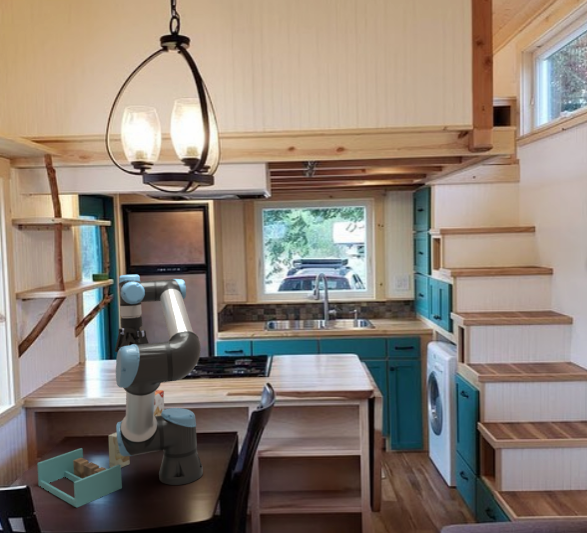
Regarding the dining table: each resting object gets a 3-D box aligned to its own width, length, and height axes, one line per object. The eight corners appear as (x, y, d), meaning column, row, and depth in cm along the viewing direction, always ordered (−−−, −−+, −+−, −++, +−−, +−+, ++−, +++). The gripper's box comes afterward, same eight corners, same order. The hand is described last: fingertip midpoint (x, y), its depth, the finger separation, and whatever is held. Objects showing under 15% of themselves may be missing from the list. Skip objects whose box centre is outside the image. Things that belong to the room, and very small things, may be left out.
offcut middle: (99, 482, 180) (98, 465, 180) (91, 485, 178) (90, 468, 178) (92, 478, 183) (91, 462, 183) (84, 481, 181) (83, 465, 181)
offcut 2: (110, 487, 176) (109, 470, 176) (102, 491, 174) (101, 473, 173) (102, 484, 179) (102, 466, 179) (94, 487, 177) (93, 470, 176)
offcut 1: (89, 477, 185) (88, 460, 185) (81, 480, 182) (80, 463, 182) (82, 473, 188) (81, 457, 188) (74, 476, 186) (73, 460, 185)
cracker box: (151, 451, 207) (148, 399, 206) (137, 450, 208) (134, 399, 207) (166, 438, 220) (164, 389, 220) (153, 437, 222) (151, 389, 221)
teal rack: (121, 488, 175) (120, 465, 175) (76, 507, 163) (75, 482, 163) (82, 469, 192) (81, 448, 191) (38, 485, 179) (37, 463, 179)
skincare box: (116, 470, 190) (114, 437, 189) (109, 467, 192) (107, 435, 192) (130, 463, 195) (129, 431, 195) (123, 461, 198) (121, 429, 197)
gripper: (160, 317, 186) (163, 375, 187) (121, 313, 201) (123, 367, 202) (142, 320, 180) (145, 380, 181) (103, 315, 196) (106, 371, 197)
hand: (134, 373), depth 192 cm, fingers open, 13 cm apart
